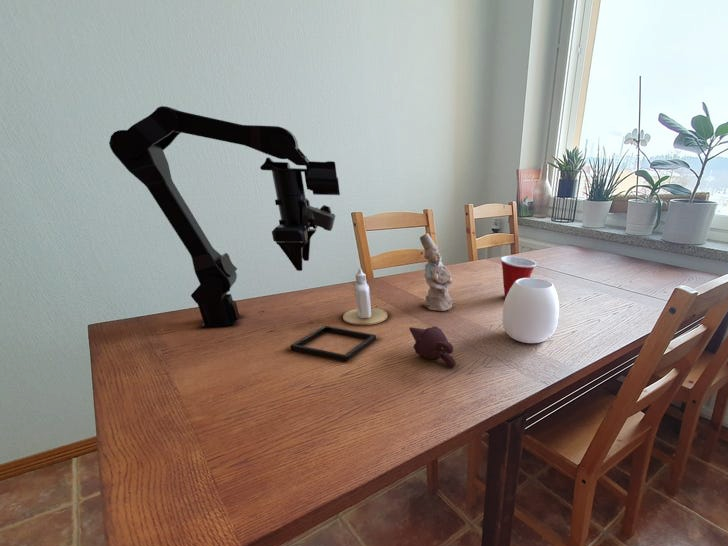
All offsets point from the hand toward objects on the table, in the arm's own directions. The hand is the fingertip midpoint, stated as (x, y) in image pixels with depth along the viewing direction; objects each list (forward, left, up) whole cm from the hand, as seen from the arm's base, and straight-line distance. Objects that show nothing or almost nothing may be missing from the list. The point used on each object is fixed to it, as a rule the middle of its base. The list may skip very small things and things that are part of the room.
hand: (303, 265), depth 89 cm
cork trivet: (+13, -3, -13) cm, 19 cm away
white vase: (+50, -23, -13) cm, 57 cm away
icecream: (+25, -28, -13) cm, 40 cm away
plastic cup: (+58, +4, -13) cm, 60 cm away
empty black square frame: (+6, -18, -13) cm, 23 cm away
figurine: (+33, +1, -13) cm, 36 cm away
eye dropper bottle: (+13, -3, -13) cm, 18 cm away
